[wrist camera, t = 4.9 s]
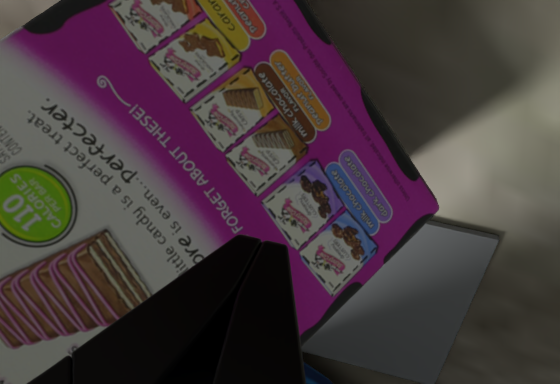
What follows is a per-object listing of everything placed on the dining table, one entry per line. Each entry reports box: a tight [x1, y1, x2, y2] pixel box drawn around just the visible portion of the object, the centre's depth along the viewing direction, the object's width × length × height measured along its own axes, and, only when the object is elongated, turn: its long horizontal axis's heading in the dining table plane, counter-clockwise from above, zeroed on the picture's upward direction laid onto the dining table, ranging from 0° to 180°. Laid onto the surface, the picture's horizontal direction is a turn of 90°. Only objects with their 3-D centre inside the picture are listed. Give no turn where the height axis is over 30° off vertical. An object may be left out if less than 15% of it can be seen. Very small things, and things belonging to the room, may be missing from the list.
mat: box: [301, 220, 499, 384], centre depth 25 cm, size 10×14×1 cm
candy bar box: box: [0, 0, 439, 384], centre depth 15 cm, size 11×5×16 cm
